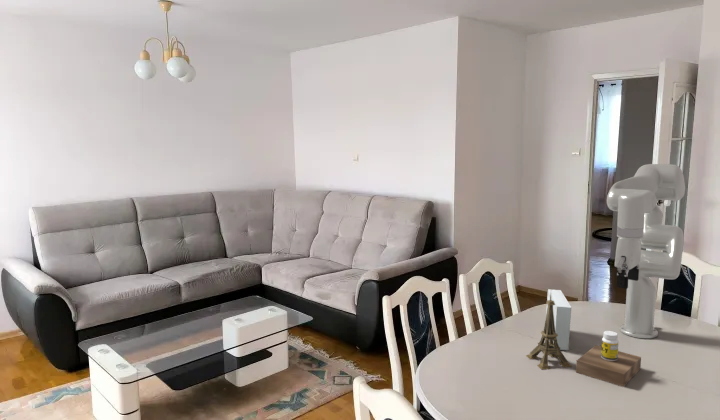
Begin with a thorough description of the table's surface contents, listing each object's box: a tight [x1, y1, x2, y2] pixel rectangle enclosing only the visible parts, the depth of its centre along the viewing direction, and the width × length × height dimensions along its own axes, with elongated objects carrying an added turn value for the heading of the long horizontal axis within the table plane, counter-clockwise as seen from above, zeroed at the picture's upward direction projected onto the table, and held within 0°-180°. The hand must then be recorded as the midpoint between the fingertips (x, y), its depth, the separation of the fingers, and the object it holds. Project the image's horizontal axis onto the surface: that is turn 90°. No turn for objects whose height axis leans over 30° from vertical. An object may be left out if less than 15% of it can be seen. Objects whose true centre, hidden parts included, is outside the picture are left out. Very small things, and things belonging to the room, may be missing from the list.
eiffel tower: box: [525, 295, 573, 370], centre depth 169 cm, size 11×11×25 cm
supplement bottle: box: [601, 330, 620, 361], centre depth 162 cm, size 5×5×8 cm
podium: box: [575, 344, 642, 388], centre depth 163 cm, size 16×14×4 cm
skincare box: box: [545, 288, 572, 351], centre depth 188 cm, size 21×6×16 cm, turn 168°
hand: (627, 283), depth 166 cm, fingers open, 9 cm apart
